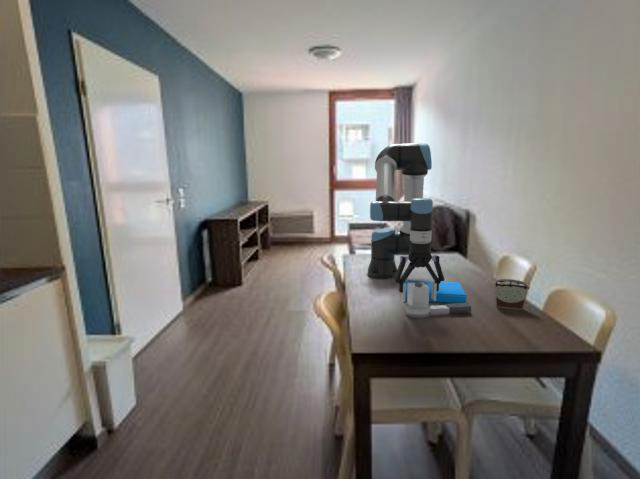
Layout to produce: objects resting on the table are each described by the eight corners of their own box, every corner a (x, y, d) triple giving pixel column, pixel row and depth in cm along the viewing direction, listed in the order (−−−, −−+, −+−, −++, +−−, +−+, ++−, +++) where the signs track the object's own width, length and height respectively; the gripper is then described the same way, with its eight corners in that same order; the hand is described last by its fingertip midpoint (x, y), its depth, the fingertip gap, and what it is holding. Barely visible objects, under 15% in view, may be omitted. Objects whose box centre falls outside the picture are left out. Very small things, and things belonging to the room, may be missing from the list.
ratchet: (402, 310, 146) (402, 292, 145) (462, 307, 148) (464, 290, 147) (409, 319, 138) (410, 300, 136) (474, 316, 140) (475, 298, 138)
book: (401, 280, 173) (459, 281, 168) (401, 289, 173) (458, 291, 169) (402, 292, 156) (467, 294, 152) (402, 302, 157) (466, 304, 153)
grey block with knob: (407, 303, 145) (407, 281, 143) (422, 303, 145) (423, 280, 144) (412, 309, 139) (412, 286, 137) (428, 308, 139) (429, 285, 138)
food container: (524, 304, 151) (527, 280, 149) (527, 310, 145) (529, 284, 143) (490, 301, 155) (492, 277, 153) (491, 306, 149) (493, 281, 147)
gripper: (391, 244, 133) (390, 305, 137) (456, 242, 135) (453, 302, 139) (385, 240, 140) (384, 298, 144) (447, 238, 142) (444, 295, 146)
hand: (418, 300), depth 141 cm, fingers open, 11 cm apart
